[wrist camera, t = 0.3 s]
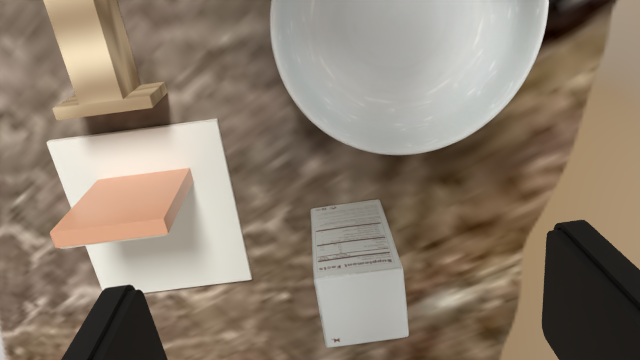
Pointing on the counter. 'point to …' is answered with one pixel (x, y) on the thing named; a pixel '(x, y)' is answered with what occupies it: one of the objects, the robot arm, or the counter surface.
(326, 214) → the supplement box
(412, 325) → the counter surface
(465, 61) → the serving bowl
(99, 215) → the tile
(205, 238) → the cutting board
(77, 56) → the tall beige plank
